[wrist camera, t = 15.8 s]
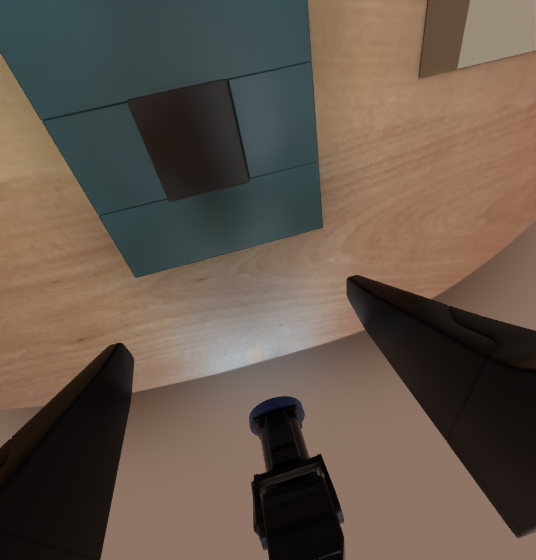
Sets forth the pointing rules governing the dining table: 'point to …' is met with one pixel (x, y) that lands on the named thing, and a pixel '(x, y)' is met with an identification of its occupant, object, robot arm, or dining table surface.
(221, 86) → the block
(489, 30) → the electrical outlet
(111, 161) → the teal three-hole plate
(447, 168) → the dining table surface
